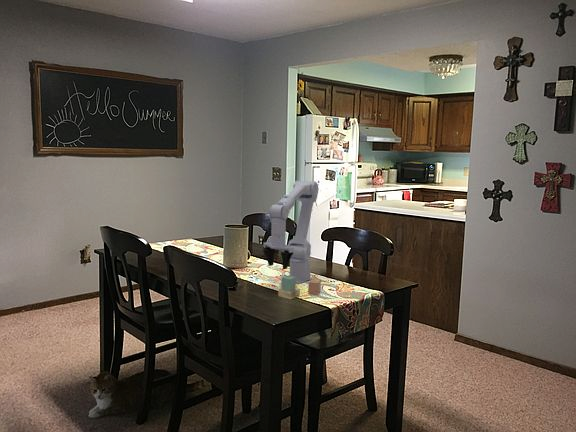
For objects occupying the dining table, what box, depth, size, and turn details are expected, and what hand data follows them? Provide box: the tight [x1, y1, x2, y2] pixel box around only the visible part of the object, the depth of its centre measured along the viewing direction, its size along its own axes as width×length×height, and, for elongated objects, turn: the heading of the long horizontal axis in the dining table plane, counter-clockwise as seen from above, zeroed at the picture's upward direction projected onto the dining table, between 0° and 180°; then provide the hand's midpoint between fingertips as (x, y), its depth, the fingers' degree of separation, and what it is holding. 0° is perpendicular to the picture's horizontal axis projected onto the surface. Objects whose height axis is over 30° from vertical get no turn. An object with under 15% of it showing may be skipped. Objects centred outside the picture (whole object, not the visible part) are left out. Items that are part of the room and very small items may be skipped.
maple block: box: [277, 288, 301, 300], centre depth 202 cm, size 6×6×3 cm
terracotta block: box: [307, 279, 322, 296], centre depth 206 cm, size 4×4×5 cm
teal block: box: [280, 275, 297, 292], centre depth 201 cm, size 4×4×5 cm
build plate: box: [227, 276, 243, 292], centre depth 212 cm, size 12×7×5 cm, turn 169°
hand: (277, 267), depth 207 cm, fingers open, 7 cm apart
